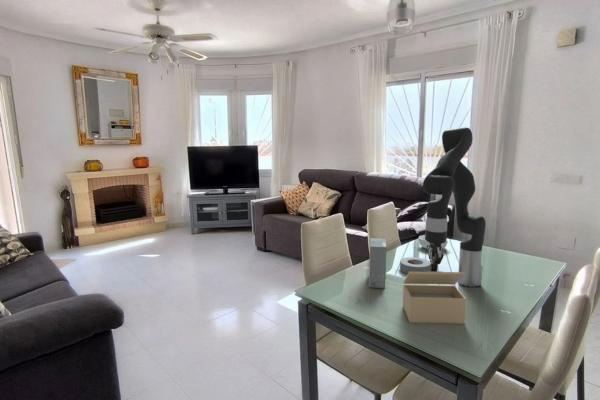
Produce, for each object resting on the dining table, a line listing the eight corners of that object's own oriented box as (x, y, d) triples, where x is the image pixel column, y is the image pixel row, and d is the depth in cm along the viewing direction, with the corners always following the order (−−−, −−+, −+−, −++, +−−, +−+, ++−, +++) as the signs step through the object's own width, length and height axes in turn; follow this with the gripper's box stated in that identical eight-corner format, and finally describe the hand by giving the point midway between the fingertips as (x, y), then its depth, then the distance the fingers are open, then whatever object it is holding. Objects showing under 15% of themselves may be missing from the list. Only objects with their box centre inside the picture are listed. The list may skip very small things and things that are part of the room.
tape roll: (398, 274, 176) (398, 264, 175) (401, 264, 190) (401, 255, 189) (430, 278, 170) (430, 268, 169) (430, 267, 184) (431, 258, 183)
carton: (453, 308, 138) (454, 285, 136) (464, 324, 126) (466, 298, 125) (402, 307, 140) (403, 284, 138) (409, 322, 128) (410, 297, 126)
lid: (454, 284, 136) (454, 282, 137) (464, 274, 126) (464, 271, 127) (403, 283, 138) (403, 281, 138) (409, 273, 128) (409, 270, 128)
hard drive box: (385, 288, 158) (386, 247, 154) (368, 287, 159) (369, 246, 156) (384, 276, 173) (385, 238, 169) (368, 275, 174) (369, 237, 171)
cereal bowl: (420, 252, 209) (421, 241, 208) (416, 244, 225) (416, 234, 224) (450, 253, 206) (450, 242, 205) (443, 245, 222) (444, 235, 221)
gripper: (452, 233, 120) (449, 279, 123) (441, 224, 133) (438, 266, 136) (430, 233, 121) (428, 279, 124) (421, 224, 134) (419, 266, 137)
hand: (433, 272), depth 130 cm, fingers closed
